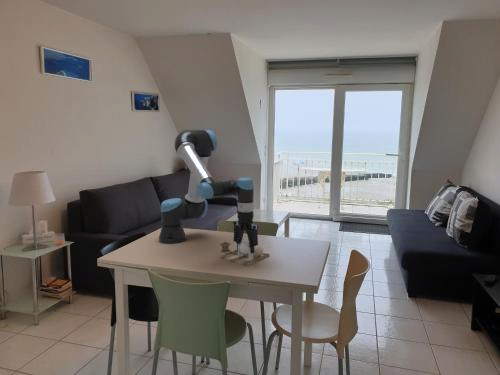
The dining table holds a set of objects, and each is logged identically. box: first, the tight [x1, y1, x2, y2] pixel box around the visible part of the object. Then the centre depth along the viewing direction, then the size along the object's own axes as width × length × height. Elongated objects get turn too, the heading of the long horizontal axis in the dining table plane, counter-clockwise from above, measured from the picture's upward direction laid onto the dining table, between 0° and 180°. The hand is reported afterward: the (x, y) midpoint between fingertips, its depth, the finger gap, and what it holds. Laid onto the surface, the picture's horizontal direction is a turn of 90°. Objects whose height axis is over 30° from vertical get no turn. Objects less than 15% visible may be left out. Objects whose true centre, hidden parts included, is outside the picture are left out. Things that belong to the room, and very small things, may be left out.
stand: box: [219, 241, 231, 254], centre depth 207 cm, size 5×5×5 cm
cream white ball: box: [253, 244, 264, 257], centre depth 197 cm, size 6×6×6 cm
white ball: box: [239, 240, 250, 254], centre depth 190 cm, size 6×6×6 cm
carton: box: [219, 249, 270, 267], centre depth 197 cm, size 18×18×2 cm
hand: (245, 257), depth 191 cm, fingers closed on white ball, 6 cm apart
